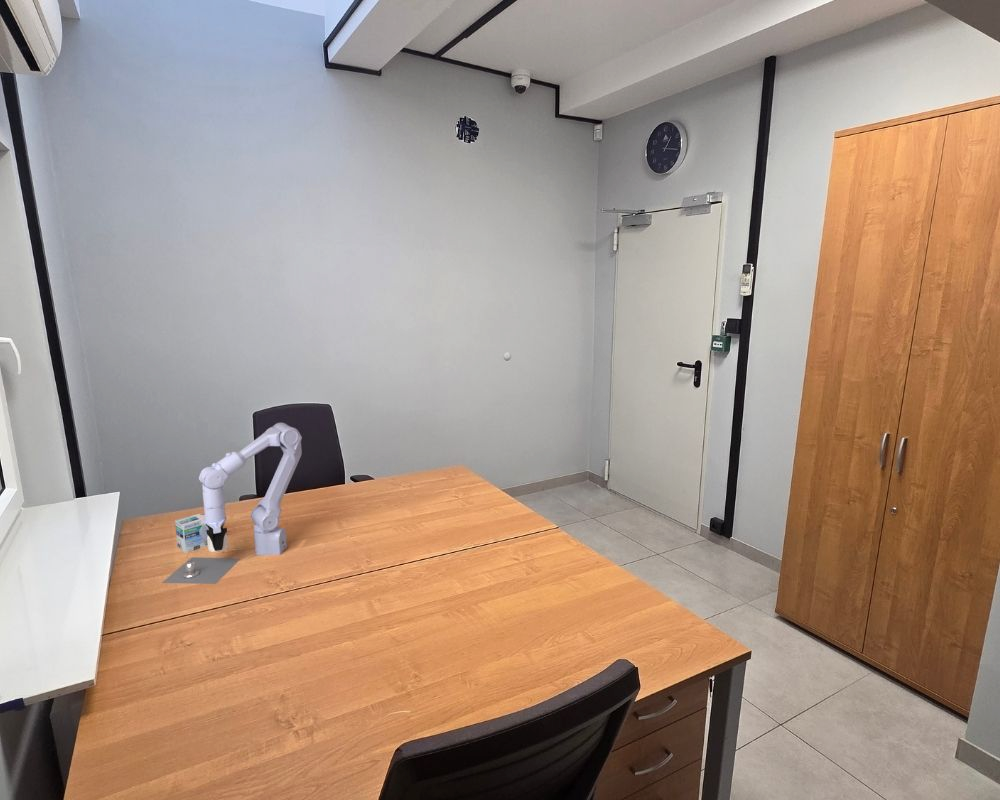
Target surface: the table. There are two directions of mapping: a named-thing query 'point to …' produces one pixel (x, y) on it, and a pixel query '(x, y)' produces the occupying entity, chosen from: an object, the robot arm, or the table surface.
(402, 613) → the table surface
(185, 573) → the chrome cabinet knob
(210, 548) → the cap
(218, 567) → the base plate
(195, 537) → the light bulb box
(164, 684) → the table surface
